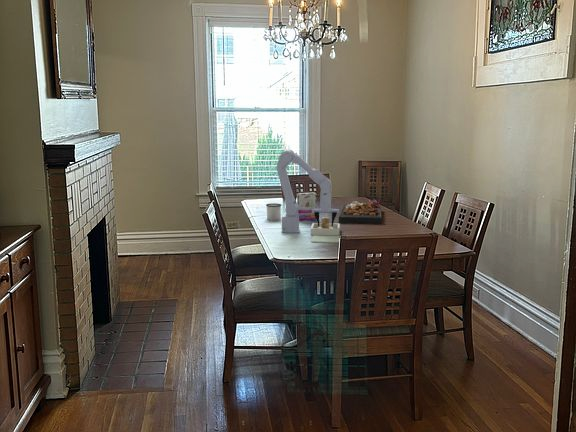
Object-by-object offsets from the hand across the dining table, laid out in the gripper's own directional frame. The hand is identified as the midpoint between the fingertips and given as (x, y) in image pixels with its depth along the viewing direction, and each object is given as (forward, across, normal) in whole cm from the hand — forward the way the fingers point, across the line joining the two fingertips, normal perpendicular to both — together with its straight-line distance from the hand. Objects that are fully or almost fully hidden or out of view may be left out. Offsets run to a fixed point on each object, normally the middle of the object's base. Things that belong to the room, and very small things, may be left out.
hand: (325, 226), depth 310 cm
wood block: (+1, 0, 0) cm, 1 cm away
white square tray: (+3, 0, 0) cm, 3 cm away
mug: (+4, -33, +38) cm, 50 cm away
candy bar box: (+4, -13, +36) cm, 38 cm away
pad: (+3, +1, -18) cm, 18 cm away
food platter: (+4, +20, +49) cm, 53 cm away
